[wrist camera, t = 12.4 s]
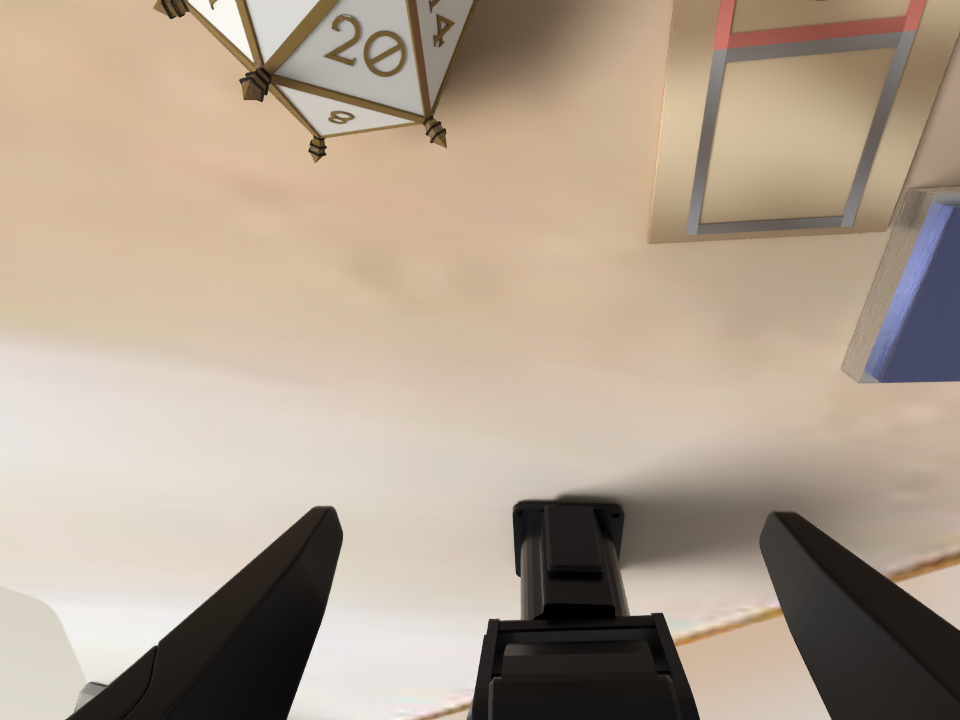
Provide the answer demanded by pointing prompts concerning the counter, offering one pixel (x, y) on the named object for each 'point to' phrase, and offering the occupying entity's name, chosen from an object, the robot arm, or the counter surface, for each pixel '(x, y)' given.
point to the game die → (341, 58)
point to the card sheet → (793, 114)
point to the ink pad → (914, 298)
